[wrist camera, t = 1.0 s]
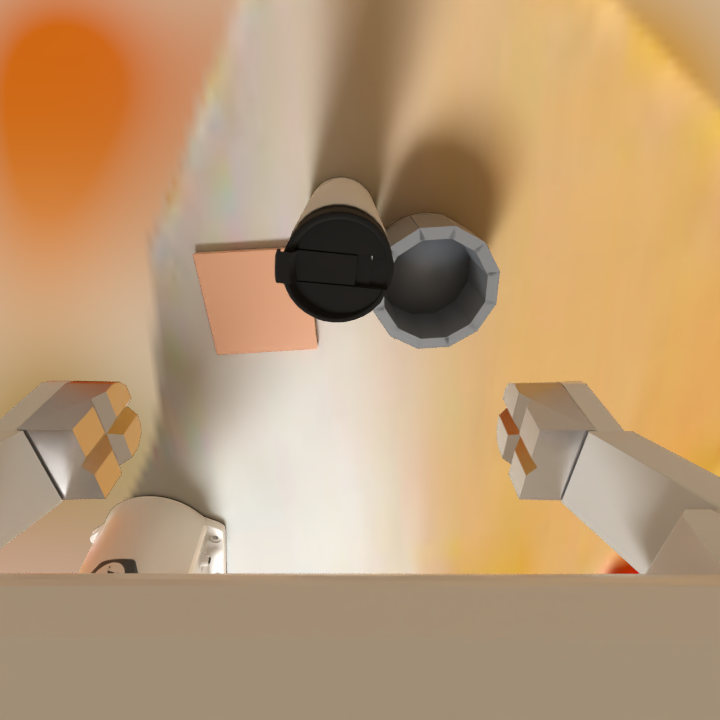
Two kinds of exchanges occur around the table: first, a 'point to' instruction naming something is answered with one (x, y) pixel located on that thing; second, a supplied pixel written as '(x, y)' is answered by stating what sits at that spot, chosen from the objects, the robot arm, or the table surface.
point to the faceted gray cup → (437, 282)
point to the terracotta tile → (251, 304)
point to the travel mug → (337, 254)
